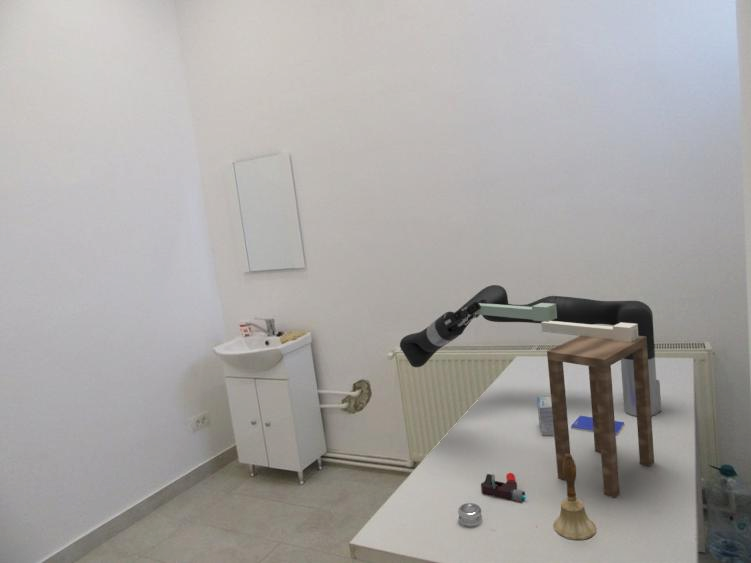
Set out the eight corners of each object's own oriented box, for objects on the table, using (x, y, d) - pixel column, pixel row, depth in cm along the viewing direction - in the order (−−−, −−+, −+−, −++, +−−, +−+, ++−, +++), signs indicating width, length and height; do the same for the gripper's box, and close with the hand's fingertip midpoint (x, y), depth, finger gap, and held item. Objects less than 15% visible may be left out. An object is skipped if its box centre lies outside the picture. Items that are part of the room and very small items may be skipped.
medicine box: (558, 435, 150) (555, 406, 149) (541, 436, 151) (539, 407, 150) (554, 423, 158) (552, 396, 157) (539, 424, 159) (536, 397, 158)
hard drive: (570, 425, 153) (616, 432, 145) (580, 414, 160) (624, 421, 152) (571, 430, 154) (616, 438, 146) (580, 419, 160) (624, 426, 152)
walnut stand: (558, 478, 128) (546, 351, 124) (599, 447, 141) (590, 330, 136) (614, 498, 117) (604, 359, 113) (654, 462, 130) (646, 336, 125)
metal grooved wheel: (484, 525, 114) (479, 512, 119) (483, 513, 113) (477, 500, 118) (461, 529, 114) (457, 515, 119) (460, 516, 113) (455, 503, 118)
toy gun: (525, 506, 119) (523, 486, 119) (476, 495, 126) (474, 476, 126) (539, 485, 127) (537, 466, 126) (492, 476, 134) (490, 458, 133)
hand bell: (545, 521, 112) (539, 451, 110) (580, 512, 114) (574, 442, 112) (568, 544, 104) (562, 469, 102) (605, 533, 106) (599, 459, 104)
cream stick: (540, 332, 141) (539, 319, 141) (548, 328, 144) (547, 316, 143) (630, 342, 123) (629, 327, 122) (638, 338, 125) (637, 323, 125)
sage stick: (469, 314, 143) (468, 301, 143) (479, 311, 146) (477, 298, 145) (547, 321, 125) (546, 307, 124) (557, 317, 127) (555, 303, 127)
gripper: (466, 334, 158) (505, 310, 145) (434, 347, 149) (471, 321, 136) (455, 312, 160) (491, 286, 147) (422, 323, 151) (458, 296, 139)
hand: (482, 303), depth 142 cm, fingers closed on sage stick, 2 cm apart
